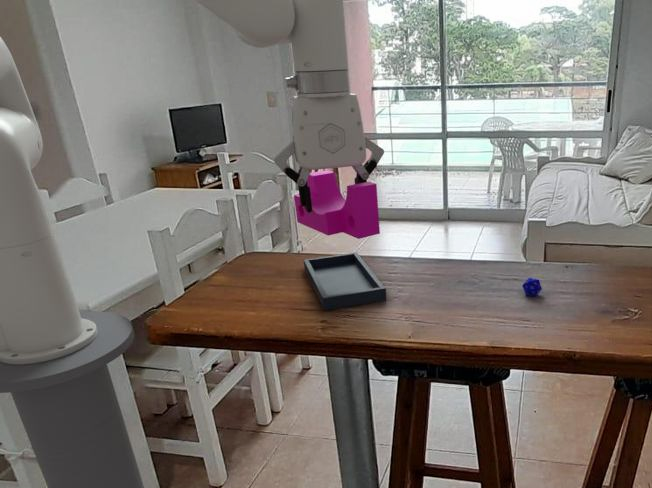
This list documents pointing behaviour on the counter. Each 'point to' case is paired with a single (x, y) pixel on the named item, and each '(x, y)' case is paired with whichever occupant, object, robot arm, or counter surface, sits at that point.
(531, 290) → the die
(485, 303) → the counter surface
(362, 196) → the toy block
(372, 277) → the rectangular tray
